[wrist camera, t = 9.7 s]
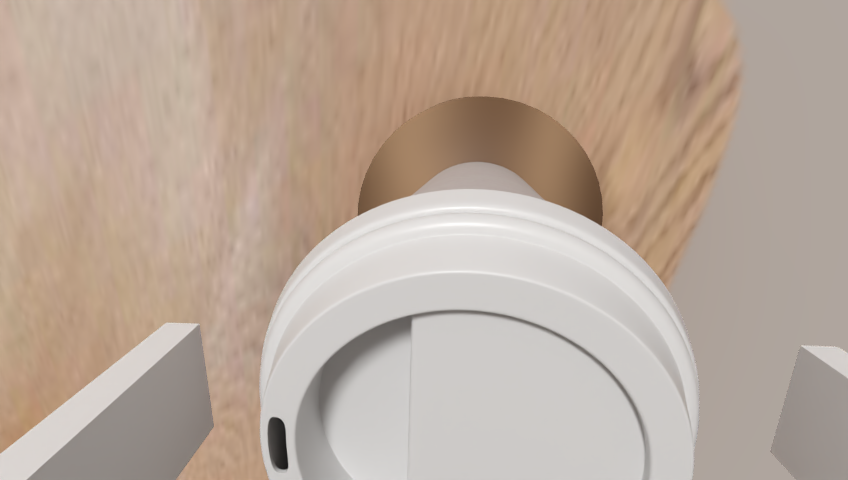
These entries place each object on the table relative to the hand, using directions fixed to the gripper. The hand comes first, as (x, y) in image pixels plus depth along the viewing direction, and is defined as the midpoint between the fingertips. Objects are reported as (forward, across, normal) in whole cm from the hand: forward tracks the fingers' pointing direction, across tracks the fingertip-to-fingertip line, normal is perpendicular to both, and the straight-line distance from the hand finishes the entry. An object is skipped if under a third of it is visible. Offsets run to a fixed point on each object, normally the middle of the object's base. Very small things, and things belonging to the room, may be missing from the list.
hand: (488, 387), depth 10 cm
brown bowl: (+18, +1, 0) cm, 18 cm away
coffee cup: (+13, 0, 0) cm, 13 cm away
